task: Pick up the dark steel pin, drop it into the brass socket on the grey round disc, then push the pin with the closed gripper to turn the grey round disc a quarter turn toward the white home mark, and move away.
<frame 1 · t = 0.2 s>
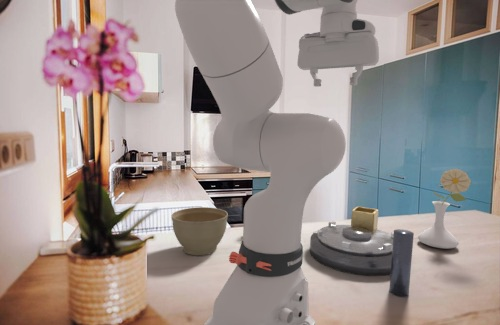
hand: (334, 85, 85), 47 cm above the countertop, tool pointing down, fingers open, 8 cm apart
grey round disc: (357, 228, 95), point 8 cm above the countertop, hinge at 0.0°
pin: (398, 292, 75), on the countertop
housing: (355, 255, 96), on the countertop
planter bowl: (199, 250, 97), on the countertop
flower in vase: (440, 246, 105), on the countertop
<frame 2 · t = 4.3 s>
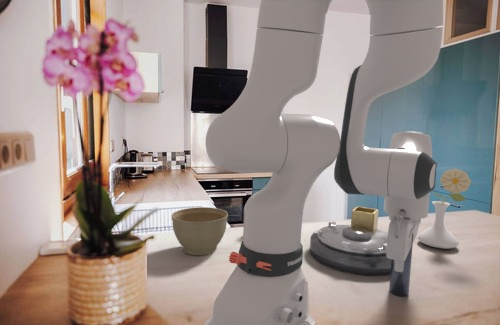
hand: (400, 266, 74), 6 cm above the countertop, tool pointing down, fingers closed on pin, 4 cm apart
pin: (398, 292, 75), on the countertop, touching gripper
everything else where it was.
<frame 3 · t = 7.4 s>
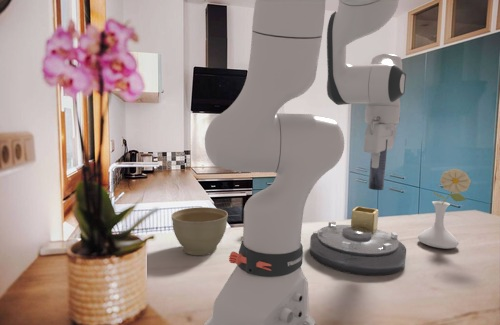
hand: (377, 166, 93), 26 cm above the countertop, tool pointing down, fingers closed on pin, 4 cm apart
pin: (375, 188, 94), point 20 cm above the countertop, touching gripper
everything else where it was.
when the fingers open (13 cm above the countertop, at t = 10.6 s): pin drops 1 cm, resting on grey round disc.
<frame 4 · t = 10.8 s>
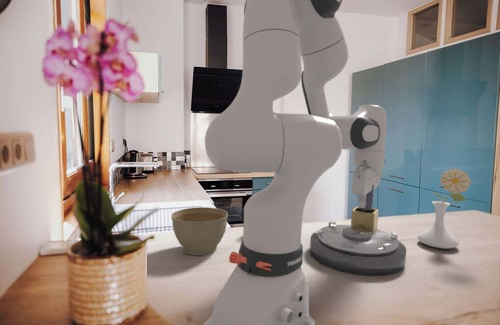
hand: (365, 204, 101), 13 cm above the countertop, tool pointing down, fingers open, 6 cm apart
grey round disc: (357, 228, 95), point 8 cm above the countertop, hinge at -0.1°, touching pin
pin: (363, 229, 102), point 6 cm above the countertop, touching grey round disc
everything else where it was.
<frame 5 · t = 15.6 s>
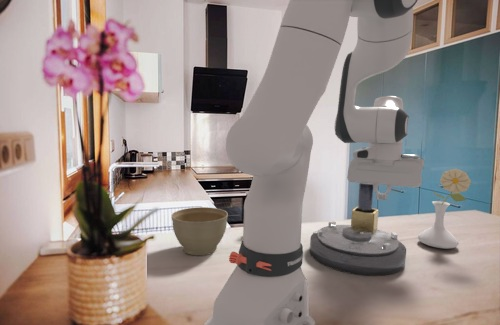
hand: (381, 199, 99), 16 cm above the countertop, tool pointing down, fingers closed
pin: (363, 229, 102), point 6 cm above the countertop, touching gripper, grey round disc
everything else where it was.
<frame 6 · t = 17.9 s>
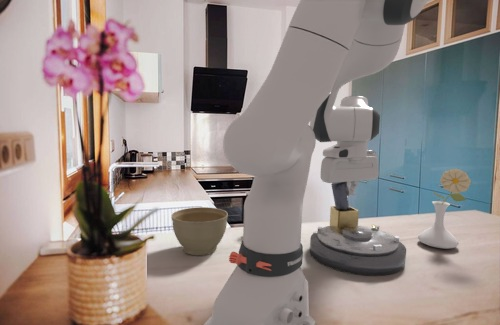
hand: (349, 195, 103), 16 cm above the countertop, tool pointing down, fingers closed
grey round disc: (356, 228, 95), point 8 cm above the countertop, hinge at 44.0°, touching pin
pin: (345, 225, 103), point 6 cm above the countertop, tilted 15°, touching gripper, grey round disc
everything else where it was.
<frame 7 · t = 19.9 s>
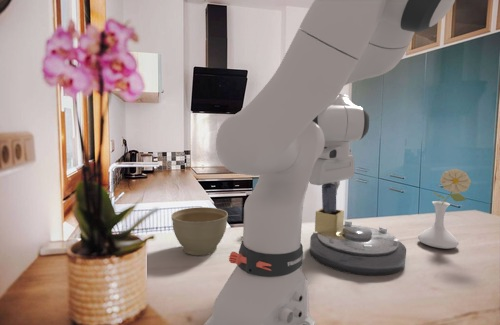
hand: (331, 196, 100), 16 cm above the countertop, tool pointing down, fingers closed
grey round disc: (356, 228, 95), point 8 cm above the countertop, hinge at 89.6°, touching pin
pin: (329, 228, 100), point 6 cm above the countertop, tilted 15°, touching gripper, grey round disc
everything else where it was.
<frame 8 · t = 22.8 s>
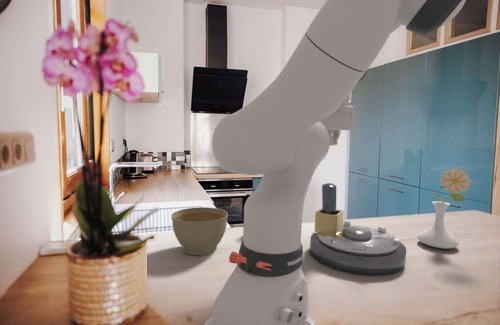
hand: (332, 145, 101), 31 cm above the countertop, tool pointing down, fingers closed
grey round disc: (356, 228, 95), point 8 cm above the countertop, hinge at 91.5°, touching pin
pin: (329, 228, 100), point 6 cm above the countertop, tilted 14°, touching grey round disc
everything else where it was.
at the end: grey round disc at +92° (first picture: +0°); pin inside the target area on the grey round disc (0.4 cm from its centre), point 6.2 cm above the grey round disc's base; pin tilted 14° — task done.
